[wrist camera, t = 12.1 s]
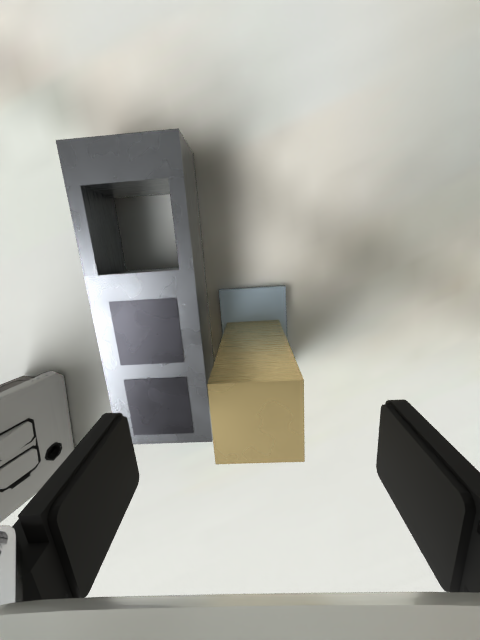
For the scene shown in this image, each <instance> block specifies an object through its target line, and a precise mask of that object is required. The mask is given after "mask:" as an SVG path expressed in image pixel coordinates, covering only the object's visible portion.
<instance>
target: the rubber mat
mask: <svg viewBox="0 0 480 640" xmlns="http://www.w3.org/2000/svg"><path fill="white" fill-rule="evenodd" d="M219 299H220V310H221V322H222V333H223V334H224V331H225V327H226V324H227V323H230V322H248V321H266V320H279V321H280V324H281V326H282V328H283V331H284V333H285V336H286V338H287V320H286V286H269V287H253V288H237V289H221V290H219Z"/></svg>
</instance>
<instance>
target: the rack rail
mask: <svg viewBox="0 0 480 640" xmlns="http://www.w3.org/2000/svg"><path fill="white" fill-rule="evenodd" d="M56 144H57V149H58V154H59V158H60V163H61V168H62V173H63V178H64V182H65V187H66V192H67V197H68V202H69V207H70V211H71V216H72V221H73V226H74V231H75V235H76V240H77V245H78V250H79V255H80V260H81V264H82V269H83V274H84V279H85V284H86V289H87V293H88V298H89V303H90V308H91V313H92V317H93V322H94V327H95V332H96V337H97V342H98V346H99V351H100V356H101V361H102V366H103V370H104V375H105V380H106V385H107V390H108V395H109V399H110V404H111V409H112V413H122V414H123V416H125V417H127V419H128V423H129V428H130V433H131V438H132V442H133V444H154V443H184V442H212V441H213V434H212V425H211V415H210V406H209V396H208V387H207V383H208V380H209V377H210V374H211V371H212V368H213V365H214V358H213V348H212V338H211V327H210V317H209V307H208V297H207V287H206V277H205V267H204V256H203V246H202V236H201V226H200V216H199V206H198V196H197V186H196V175H195V165H194V155H193V152H192V151H191V149H190V147H189V145H188V144H187V142H186V140H185V139H184V137H183V135H182V134H181V132H180V130H179V129H169V130H158V131H148V132H137V133H127V134H116V135H106V136H95V137H85V138H74V139H64V140H56ZM159 194H170V197H171V205H172V213H173V221H174V230H175V238H176V246H177V254H178V263H179V267H176V268H161V269H146V270H132V271H126V268H125V262H124V256H123V250H122V244H121V238H120V232H119V226H118V220H117V214H116V209H115V203H114V198H123V197H135V196H147V195H159Z"/></svg>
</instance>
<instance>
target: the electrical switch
mask: <svg viewBox="0 0 480 640" xmlns="http://www.w3.org/2000/svg"><path fill="white" fill-rule="evenodd" d="M73 450H74V444H73V437H72V430H71V423H70V416H69V408H68V401H67V394H66V387H65V380H64V376H63V375H62V374H59V373H57V372H54V371H49V372H45V373H42V374H40V375H38V376H36V377H35V378H32V377H28V376H21V377H19V378H16V379H14V380H11V381H9V382H6V383H4V384H1V385H0V522H1V521H3V520H4V519H5V518H6V517H8V516H9V515H10V514H11V513H13V512H14V511H15V510H16V509H18V508H19V507H20V506H21V505H22V504H24V503H25V502H26V501H27V500H29V499H30V498H31V497H32V496H34V495H35V494H36V493H37V492H38V491H39V490H40V489H41V488H42V487H43V485H44V484H45V483H46V482H47V481H48V479H49V478H50V477H51V476H52V475H53V473H54V472H55V471H56V470H57V469H58V468H59V466H60V465H61V464H62V463H63V462H64V460H65V459H66V458H67V457H68V456H69V454H70V453H71V452H72V451H73Z"/></svg>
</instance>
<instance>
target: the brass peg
mask: <svg viewBox="0 0 480 640" xmlns="http://www.w3.org/2000/svg"><path fill="white" fill-rule="evenodd" d="M207 387H208V396H209V406H210V415H211V425H212V434H213V444H214V453H215V462H216V464H238V463H274V462H305V460H304V379H303V377H302V375H301V372H300V370H299V367H298V365H297V362H296V360H295V358H294V355H293V353H292V350H291V348H290V345H289V343H288V341H287V338H286V336H285V333H284V331H283V328H282V326H281V324H280V321H279V320H266V321H248V322H230V323H227V324H226V327H225V331H224V334H223V337H222V340H221V343H220V346H219V349H218V352H217V355H216V358H215V361H214V365H213V368H212V371H211V374H210V377H209V380H208V383H207Z"/></svg>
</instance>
